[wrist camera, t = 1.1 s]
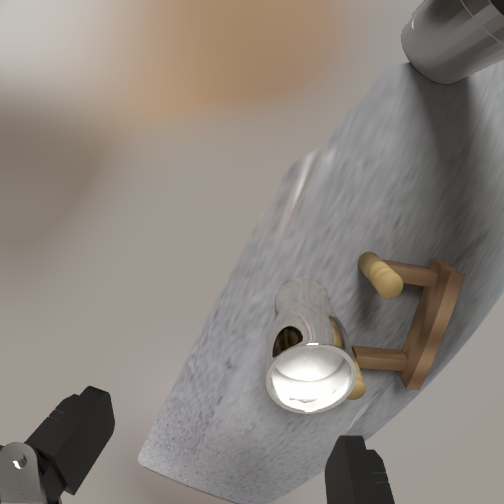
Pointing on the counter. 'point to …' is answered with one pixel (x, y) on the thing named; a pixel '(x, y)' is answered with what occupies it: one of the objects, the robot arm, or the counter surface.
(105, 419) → the robot arm
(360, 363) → the holder
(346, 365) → the silver metal cup
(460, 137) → the counter surface
